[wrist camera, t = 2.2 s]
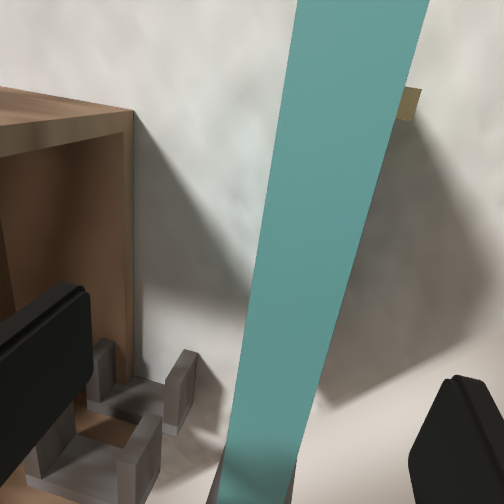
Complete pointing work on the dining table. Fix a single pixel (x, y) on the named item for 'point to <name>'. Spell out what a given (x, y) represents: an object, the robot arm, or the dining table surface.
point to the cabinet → (95, 283)
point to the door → (313, 225)
